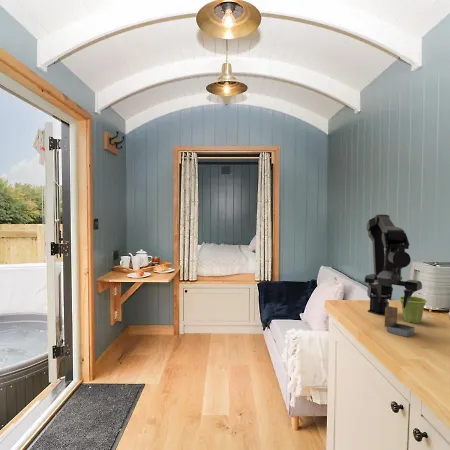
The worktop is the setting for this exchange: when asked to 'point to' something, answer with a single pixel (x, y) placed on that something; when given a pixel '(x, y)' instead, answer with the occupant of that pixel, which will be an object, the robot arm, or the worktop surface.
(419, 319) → the plant pot
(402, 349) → the worktop surface
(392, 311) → the brown wooden block
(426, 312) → the worktop surface
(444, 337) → the worktop surface
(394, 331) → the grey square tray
